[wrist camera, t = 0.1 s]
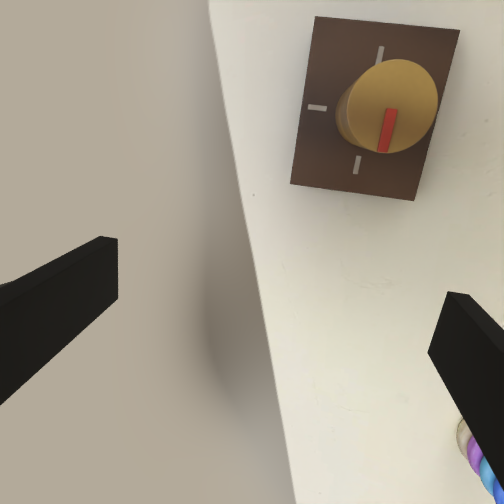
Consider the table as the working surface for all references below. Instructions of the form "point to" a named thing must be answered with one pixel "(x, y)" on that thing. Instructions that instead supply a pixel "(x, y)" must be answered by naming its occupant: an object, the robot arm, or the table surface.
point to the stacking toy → (478, 462)
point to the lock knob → (388, 107)
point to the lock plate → (338, 81)
